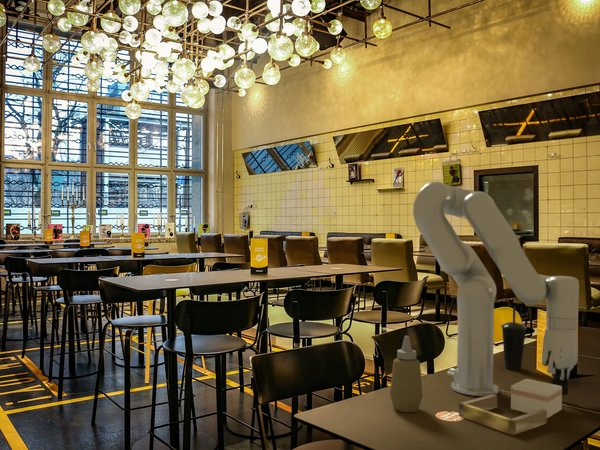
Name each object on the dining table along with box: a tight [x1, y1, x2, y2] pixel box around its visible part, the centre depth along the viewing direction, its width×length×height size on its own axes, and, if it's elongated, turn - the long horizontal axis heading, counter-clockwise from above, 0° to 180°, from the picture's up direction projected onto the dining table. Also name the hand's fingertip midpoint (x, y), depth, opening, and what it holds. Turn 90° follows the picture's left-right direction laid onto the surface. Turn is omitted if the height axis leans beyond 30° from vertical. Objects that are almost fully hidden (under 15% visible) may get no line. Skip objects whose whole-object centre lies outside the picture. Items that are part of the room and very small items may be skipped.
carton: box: [510, 378, 563, 419], centre depth 138 cm, size 9×9×6 cm
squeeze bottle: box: [389, 335, 423, 413], centre depth 136 cm, size 8×8×18 cm
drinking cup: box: [500, 305, 528, 371], centre depth 177 cm, size 8×8×20 cm
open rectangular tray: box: [458, 394, 548, 436], centre depth 130 cm, size 14×13×3 cm
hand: (560, 393), depth 145 cm, fingers closed
